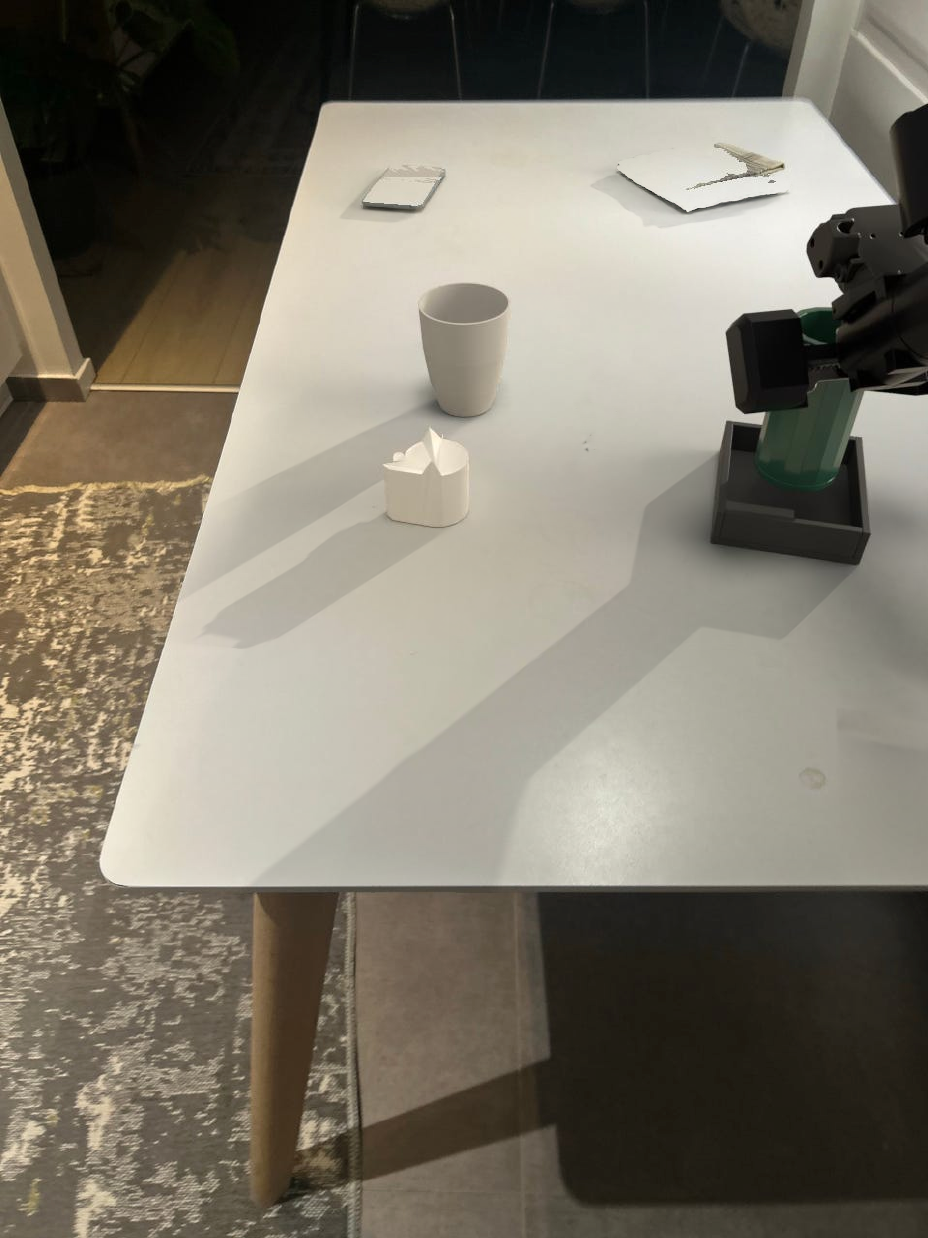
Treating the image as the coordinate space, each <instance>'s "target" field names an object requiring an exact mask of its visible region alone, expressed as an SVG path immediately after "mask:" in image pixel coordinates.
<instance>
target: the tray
mask: <svg viewBox="0 0 928 1238" xmlns="http://www.w3.org/2000/svg"><path fill="white" fill-rule="evenodd" d="M761 428H762V424H759V423H751V422H743V421H733V420H726V421H725V425H724V431H723V434H722V439H721V443H720V448H719V455H718V466H717V475H716V485H715V494H714V495H715V496H714V503H713V512H712V513H713V514H712V520H711V522H712V523H711V532H710V543H711V544H718V545H724V546H731V547H737V548H743V549H750V550H757V551H764V552H772V553H778V554H784V555H790V556H798V557H804V558H811V559H818V560H823V561H831V562H837V563H845V564H850V565H857V566H859V565H860V563H861V561H862V558H863V556H864V553H865V550H866V548H867V546H868V543H869V540H870V538H871V534H872V529H871V519H870V508H869V495H868V487H867V486H868V485H867V476H866V475H867V474H866V462H865V451H864V440H863V437H862V436H854V435H850V437H849V440H848V443H847V446H846V449H845V452H844V456H843V459H842V462H841V465H840V468H839V471H838V474H837V477H836V479H835V481H834V482H833V483H832V484H831V485H830V486H828V487H827V488H824V489H822V490H818V491H812V492H797V491H790V490H786V489H782V488H779V487H777V486H774V485H772V484H770V483H768V482H767V481H765V480H764V479H763V478H761V477H760V476H759V474H758V473H757V472H756V470H755V468H754V458H755V452H756V448H757V444H758V440H759V436H760V432H761Z"/></svg>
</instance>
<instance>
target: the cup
mask: <svg viewBox="0 0 928 1238" xmlns="http://www.w3.org/2000/svg"><path fill="white" fill-rule="evenodd" d="M511 303H512V302H511V298H510V297H509V295H508V294H507V293H506V292H504V291H503V290H501V289H499V288H497V287H495V286H493V285H489V284H486V283H480V282H469V281H468V282H467V281H466V282H465V281H464V282H461V281H460V282H452V283H451V282H450V283H446V284H440V285H437V286H435V287H433V288H430V289H429V290H427V291H425V292H424V293H423V294H422V295H421V296H420V297H419V300H418V302H417V305H418V306H417V307H418V314H419V325H420V333H421V343H422V344H421V345H422V350H423V355H424V359H425V364H426V367H427V373H428V377H429V381H430V385H431V388H432V390H433V393H434V395H435V397H436V400H437V403H438V405H439V407H440V409H441V410H442V411H443V412H444V413H446V414H448V415H451V416H455V417H459V418H461V417H462V418H468V417H477V416H480V415H482V414H484V413H487V411H489V410H490V409H491V407H492V405H493V403H494V400H495V396H496V393H497V391H498V388H499V386H500V383H501V379H502V374H503V369H504V363H505V359H506V353H507V348H508V337H509V329H510V328H509V327H510V316H511Z"/></svg>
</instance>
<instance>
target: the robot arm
mask: <svg viewBox="0 0 928 1238" xmlns="http://www.w3.org/2000/svg"><path fill="white" fill-rule="evenodd" d="M888 134H889V142H890V143H889V144H890V150H891V156H892V157H891V158H892V163H893V171H894V179H895V185H896V194H897V201H898V203H894V204H893V203H891V204H881V205H870V206H869V205H868V206H857V207H852V208H851V207H850V208H848V209H847V210H846V211H845V212H843V213H834V214H832V215H831V216H830V218H829V219H828V220H827V221H825V222H821V223H819V224H818V226H817V227H816V228H815V229H814V230H813V231H812V234H811V235H810V236H809V239H808V241H807V243H806V247H805V248H806V250H805V252H806V256H807V258H808V261H809V264H810V267H811V269H812V272H813V274H814V276H815V278H817V279H825V278H828V279H829V278H830V279H833V280H834V282H835V283H836V284H837V286H838V289H839V291H840V292H841V293H842V294H841V295H840V296H838V297H837V298H835V299H834V300H833V301H831V302H830V303H831V304H830V305H831V307H832V312H833V319H834V321H841V326H840V327H839V328H837V330H836V343H828V344H818V345H809V344H804V340H803V333H802V326H801V318H800V317H799V316H798V315H797V314H796V312H795V310H794V309H793V308H787V309H776V310H766V311H754V312H744V313H742V314H741V315H740V316H739V317H738V318H736V319H735V320H734V321H733V322H731V324H730V325H729V326H728V328H727V329H726V330H725V340H726V346H727V347H726V348H727V355H728V362H729V370H730V376H731V377H730V378H731V385H732V390H733V398H734V406H735V408H736V409H737V410H738V411H740V412H741V413H742V414H743V415H751V414H760V413H765V412H771V411H783V410H792V409H801V408H808V407H809V405H808V398H807V394H809V393H810V392H812V391H813V390H814V389H815V387H816V384H817V383H820V382H829V381H839V380H848V379H849V385H850V392H851V393H852V392H861V391H864V392H873V393H875V392H876V393H883V394H893V395H903V396H913V397H919V396H928V102H927V103H925V104H923V105H921V106H919V107H917V108H916V109H914V110H909V111H905V112H904V113H902V114H901V115H900V116H899V117H898V118H897V119H895V121H894V122H893V123H892V125H891V126H890V129H889V131H888ZM838 363H839V364H840V365H839V367H838V365H837V364H838ZM829 364H836V365H834V366H833V367H832V365H830V366H828V368H827V366H823V367H822V368H821V366H819V365H829ZM812 366H819V367H817V369H816V368H815V367H812Z"/></svg>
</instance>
